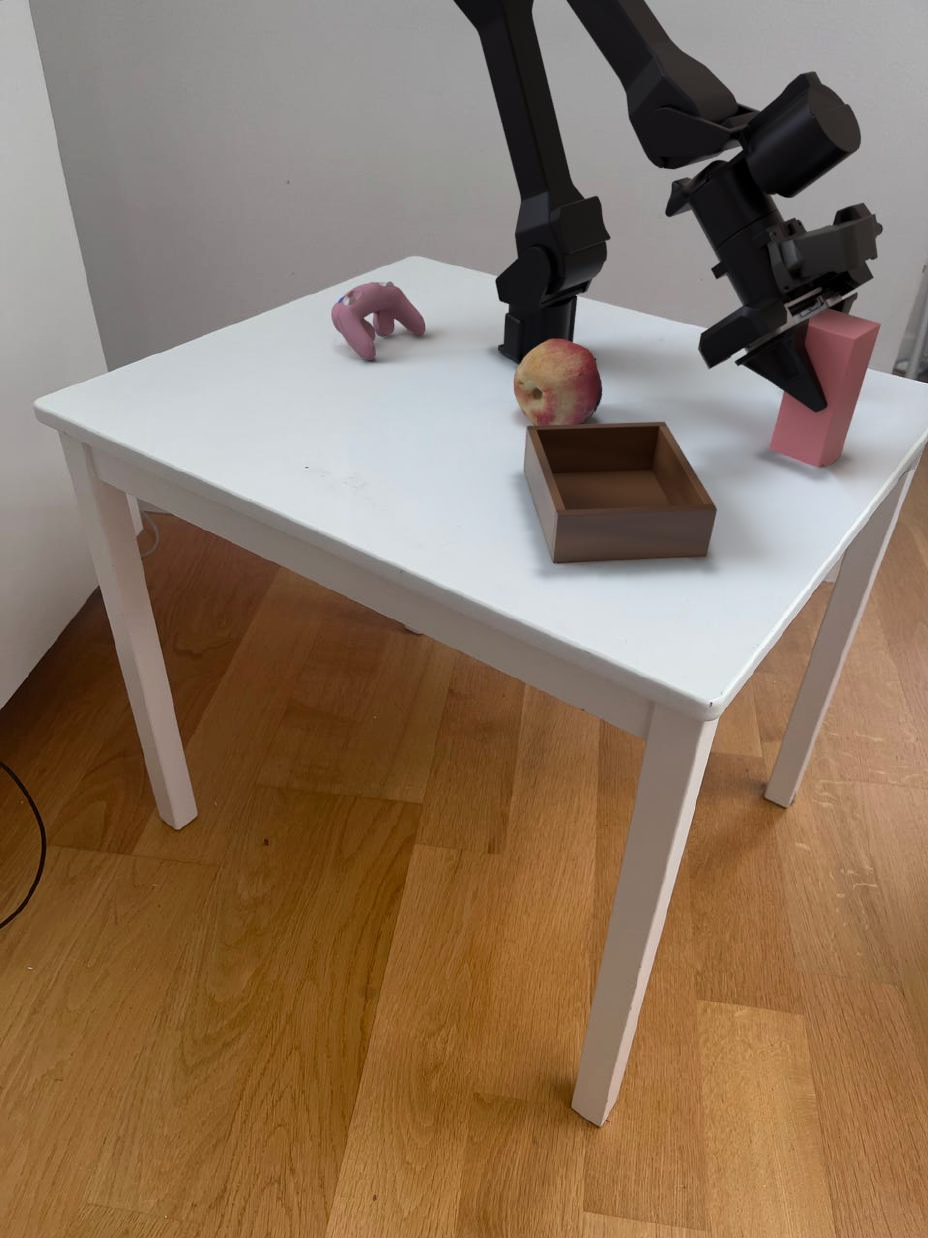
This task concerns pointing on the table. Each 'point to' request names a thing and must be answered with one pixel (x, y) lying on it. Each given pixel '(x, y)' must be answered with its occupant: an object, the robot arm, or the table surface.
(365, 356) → the video game controller
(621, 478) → the crate
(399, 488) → the table surface
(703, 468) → the table surface
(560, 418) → the fruit
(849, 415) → the rose block
